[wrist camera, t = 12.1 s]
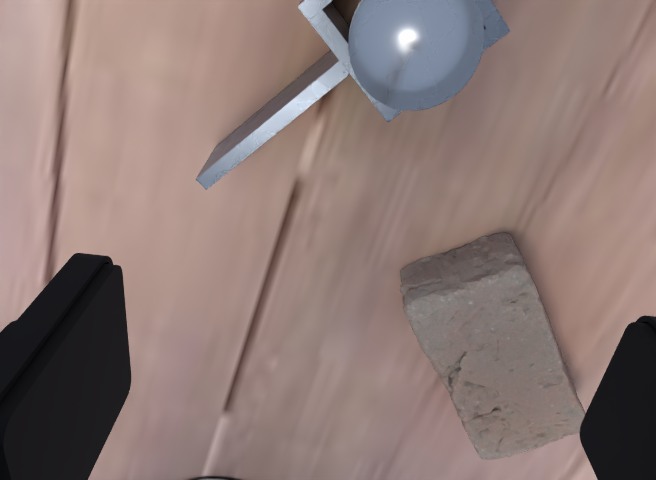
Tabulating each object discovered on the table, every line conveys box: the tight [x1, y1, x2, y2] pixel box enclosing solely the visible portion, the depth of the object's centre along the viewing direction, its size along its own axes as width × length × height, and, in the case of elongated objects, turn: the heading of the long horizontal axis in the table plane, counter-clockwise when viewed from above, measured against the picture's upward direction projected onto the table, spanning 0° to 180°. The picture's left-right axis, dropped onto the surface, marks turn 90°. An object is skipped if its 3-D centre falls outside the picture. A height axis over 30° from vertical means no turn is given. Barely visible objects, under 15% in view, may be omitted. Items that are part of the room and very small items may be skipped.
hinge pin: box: [348, 0, 484, 111], centre depth 25 cm, size 5×5×11 cm
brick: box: [400, 233, 585, 459], centre depth 39 cm, size 17×8×5 cm, turn 27°
